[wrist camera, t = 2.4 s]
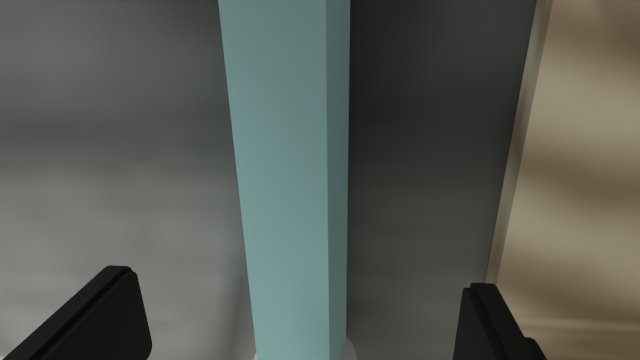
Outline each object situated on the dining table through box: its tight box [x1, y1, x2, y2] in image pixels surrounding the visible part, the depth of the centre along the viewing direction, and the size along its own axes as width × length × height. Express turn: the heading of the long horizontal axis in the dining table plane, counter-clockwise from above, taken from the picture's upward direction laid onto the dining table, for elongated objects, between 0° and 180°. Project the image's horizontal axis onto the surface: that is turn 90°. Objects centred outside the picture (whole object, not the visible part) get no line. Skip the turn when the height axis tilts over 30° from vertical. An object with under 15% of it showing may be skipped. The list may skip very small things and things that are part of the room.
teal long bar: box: [218, 0, 357, 360], centre depth 18 cm, size 25×6×6 cm, turn 1°
